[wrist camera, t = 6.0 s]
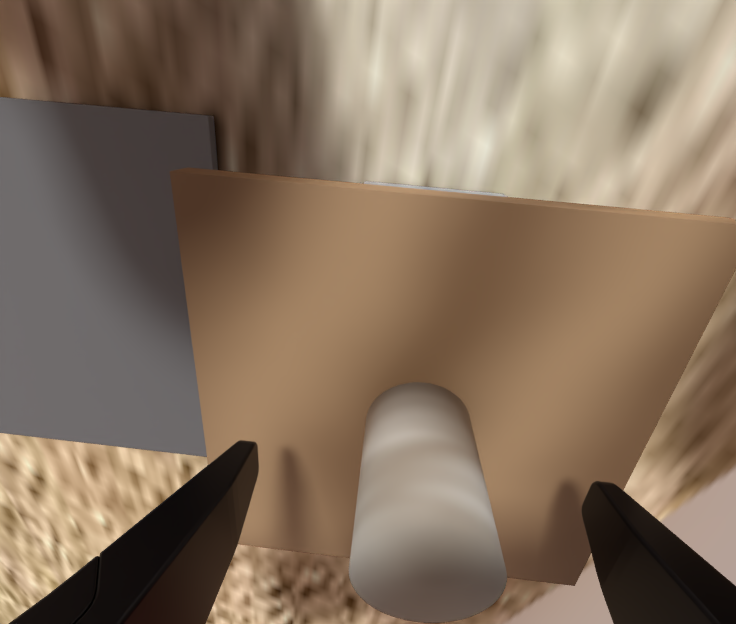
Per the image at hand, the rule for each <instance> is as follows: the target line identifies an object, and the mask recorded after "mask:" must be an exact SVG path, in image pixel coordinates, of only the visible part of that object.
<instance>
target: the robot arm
mask: <svg viewBox="0 0 736 624" xmlns="http://www.w3.org/2000/svg"><path fill="white" fill-rule="evenodd" d="M258 472H259V459H258V445H257V443H256V442H254V441H246V440H239V441H237V442H236V443H235V444H234V445H232V446H231V447H230V448H229V449H227V450H226V451H225V452H224V453H222V454H221V455H220V456H219V457H218V458H216V459H215V460H214V461H213V462H211V463H210V464H209V465H208V466H207V467H205V468H204V469H203V470H202V471H200V472H199V473H198V474H197V475H195V476H194V477H193V478H192V479H191V480H189V481H188V482H187V483H186V484H184V485H183V486H182V487H181V488H180V489H178V490H177V491H176V492H175V493H173V494H172V495H171V496H170V497H169V498H167V499H166V500H165V501H164V502H162V503H161V504H160V505H159V506H157V507H156V508H155V509H154V510H153V511H151V512H150V513H149V514H148V515H146V516H145V517H144V518H143V519H142V520H140V521H139V522H138V523H137V524H135V525H134V526H133V527H132V528H131V529H129V530H128V531H127V532H126V533H124V534H123V535H122V536H121V537H119V538H118V539H117V540H116V541H115V542H113V543H112V544H111V545H110V546H108V547H107V548H106V549H105V550H104V551H102V552H101V553H100V557H99V556H96V557H95V558H93V559H92V560H91V561H90V562H89V563H87V564H86V565H85V566H84V567H82V568H81V569H80V570H79V571H78V572H76V573H75V574H74V575H72V576H71V577H70V578H69V579H67V580H66V581H65V582H64V583H62V584H61V585H60V586H58V587H57V588H56V589H55V590H53V591H52V592H51V593H50V594H48V595H47V596H46V597H44V598H43V599H42V600H40V601H39V602H38V603H36V604H35V605H33V606H32V607H31V608H29V609H28V610H27V611H25V612H24V613H22V614H21V615H20V616H18V617H17V618H16V619H14V620H13V621H12V622H10V623H9V624H206V621H207V619H208V616H209V614H210V611H211V609H212V606H213V604H214V602H215V599H216V597H217V594H218V592H219V589H220V587H221V584H222V582H223V580H224V577H225V575H226V572H227V570H228V567H229V565H230V562H231V560H232V558H233V555H234V553H235V550H236V547H237V545H238V542H239V539H240V535H241V532H242V529H243V525H244V522H245V518H246V515H247V512H248V508H249V505H250V501H251V498H252V494H253V491H254V488H255V484H256V481H257V477H258ZM581 513H582V518H583V522H584V526H585V530H586V534H587V537H588V541H589V545H590V549H591V553H592V557H593V560H594V564H595V568H596V572H597V576H598V579H599V582H600V586H601V589H602V592H603V595H604V598H605V601H606V604H607V606H608V609H609V612H610V614H611V617H612V620H613V623H614V624H736V586H735V585H734V584H732V583H731V582H730V581H729V580H728V579H727V578H726V577H724V576H723V575H722V574H721V573H720V572H718V571H717V570H716V569H715V568H714V567H713V566H711V565H710V564H709V563H708V562H707V561H706V560H704V559H703V558H702V557H701V556H700V555H698V554H697V553H696V552H695V551H694V550H692V549H691V548H690V547H689V546H688V545H687V544H685V543H684V542H683V541H682V540H681V539H679V538H678V537H677V536H676V535H675V534H673V532H671V531H670V530H669V529H668V528H667V527H665V526H664V525H663V524H662V523H661V522H660V521H658V520H657V519H656V518H655V517H654V516H652V515H651V514H650V513H649V512H648V511H647V510H645V509H644V508H643V507H642V506H641V505H639V504H638V503H637V502H636V501H635V500H634V499H632V498H631V497H630V496H629V495H628V494H627V493H625V492H624V491H623V490H622V489H621V488H619V487H618V486H617V485H616V484H614V483H611V482H602V481H595V482H593V483H592V484H591V486H590V488H589V491H588V493H587V495H586V497H585V499H584V502H583V504H582V508H581Z"/></svg>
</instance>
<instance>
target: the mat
mask: <svg viewBox="0 0 736 624" xmlns="http://www.w3.org/2000/svg"><path fill="white" fill-rule="evenodd" d="M188 167H189V168H199V169H210V170H218V163H217V151H216V138H215V126H214V116H208V115H197V114H186V113H174V112H163V111H152V110H141V109H129V108H118V107H107V106H95V105H84V104H73V103H62V102H50V101H39V100H28V99H16V98H5V97H0V433H7V434H15V435H24V436H33V437H41V438H50V439H58V440H67V441H76V442H84V443H93V444H101V445H110V446H118V447H127V448H136V449H144V450H153V451H161V452H170V453H179V454H187V455H196V456H204V457H207V452H206V445H205V437H204V430H203V422H202V414H201V407H200V399H199V392H198V384H197V376H196V369H195V361H194V354H193V346H192V338H191V331H190V323H189V316H188V308H187V300H186V293H185V285H184V278H183V270H182V262H181V255H180V247H179V240H178V232H177V224H176V217H175V209H174V202H173V194H172V186H171V179H170V171H173V170H178V169H183V168H188Z"/></svg>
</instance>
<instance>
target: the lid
mask: <svg viewBox="0 0 736 624" xmlns="http://www.w3.org/2000/svg"><path fill="white" fill-rule="evenodd" d="M170 179H171V186H172V194H173V202H174V209H175V217H176V224H177V232H178V240H179V247H180V255H181V262H182V270H183V278H184V285H185V293H186V300H187V308H188V316H189V323H190V331H191V338H192V346H193V354H194V361H195V369H196V376H197V384H198V392H199V399H200V407H201V414H202V422H203V430H204V437H205V445H206V452H207V460H208V465H209V464H210V463H211V462H213V461H214V460H215V459H216V458H218V457H219V456H220V455H221V454H222V453H224V452H225V451H226V450H227V449H229V448H230V447H231V446H232V445H234V444H235V443H236V442H237V441H239V440H246V441H254V442H256V443H257V445H258V459H259V472H258V477H257V481H256V484H255V488H254V491H253V494H252V498H251V501H250V505H249V508H248V512H247V515H246V518H245V522H244V525H243V529H242V532H241V535H240V539H239V542H238V544H240V545H248V546H256V547H264V548H272V549H280V550H288V551H296V552H305V553H313V554H321V555H329V556H337V557H345V558H350V563H349V577H350V581H351V584H352V586H353V588H354V589H355V591H356V593H357V594H358V595H359V596H360V597H361V598H362V599H363V600H364V601H365V602H366V603H368V604H369V605H371V606H372V607H374V608H375V609H377V610H379V611H381V612H383V613H385V614H388V615H390V616H393V617H396V618H400V619H404V620H408V621H414V622H424V623H441V622H450V621H456V620H461V619H464V618H468V617H471V616H473V615H476V614H478V613H480V612H482V611H484V610H485V609H487V608H488V607H490V606H491V605H493V604H494V603H495V602H496V601H497V600H498V598H499V597H500V596H501V594H502V593H503V591H504V589H505V586H506V582H507V578H516V579H524V580H532V581H540V582H548V583H556V584H564V585H573V586H575V584H576V582H577V580H578V578H579V576H580V574H581V572H582V570H583V568H584V566H585V564H586V562H587V560H588V558H589V556H590V554H591V549H590V545H589V541H588V537H587V534H586V530H585V526H584V522H583V518H582V513H581V508H582V504H583V502H584V499H585V497H586V495H587V493H588V491H589V488H590V486H591V484H592V483H593V482H595V481H602V482H611V483H614V484H616V485H617V486H618V487H619V488H621V489H622V490H624V488H625V486H626V484H627V482H628V480H629V478H630V476H631V474H632V472H633V470H634V468H635V466H636V464H637V462H638V460H639V458H640V456H641V454H642V452H643V450H644V448H645V446H646V444H647V442H648V441H649V439H650V437H651V435H652V433H653V431H654V429H655V427H656V425H657V423H658V421H659V419H660V417H661V415H662V413H663V411H664V409H665V407H666V405H667V403H668V401H669V399H670V397H671V395H672V393H673V391H674V389H675V387H676V386H677V384H678V382H679V380H680V378H681V376H682V374H683V372H684V370H685V368H686V366H687V364H688V362H689V360H690V358H691V356H692V354H693V352H694V350H695V348H696V346H697V344H698V342H699V340H700V338H701V336H702V334H703V332H704V331H705V329H706V327H707V325H708V323H709V321H710V319H711V317H712V315H713V313H714V311H715V309H716V307H717V305H718V303H719V301H720V299H721V297H722V295H723V293H724V291H725V289H726V287H727V285H728V283H729V281H730V279H731V277H732V276H733V274H734V272H735V270H736V220H735V219H731V218H727V217H717V216H706V215H695V214H684V213H673V212H663V211H652V210H641V209H630V208H620V207H609V206H598V205H587V204H577V203H566V202H555V201H544V200H533V199H523V198H512V197H501V196H490V195H480V194H469V193H458V192H447V191H436V190H426V189H415V188H404V187H393V186H383V185H372V184H361V183H350V182H339V181H329V180H318V179H307V178H296V177H286V176H275V175H264V174H253V173H242V172H232V171H221V170H210V169H199V168H189V167H188V168H183V169H178V170H173V171H170Z"/></svg>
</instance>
